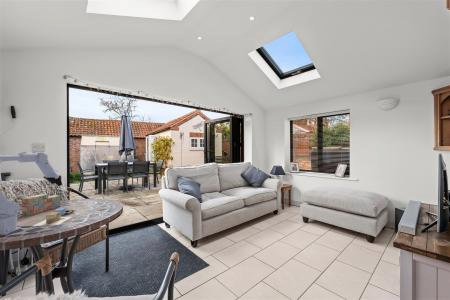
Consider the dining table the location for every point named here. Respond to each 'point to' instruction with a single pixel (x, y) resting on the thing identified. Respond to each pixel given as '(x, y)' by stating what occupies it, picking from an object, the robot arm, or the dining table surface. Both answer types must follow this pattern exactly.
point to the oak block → (53, 217)
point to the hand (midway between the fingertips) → (57, 184)
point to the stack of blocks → (39, 203)
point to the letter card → (53, 222)
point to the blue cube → (61, 210)
